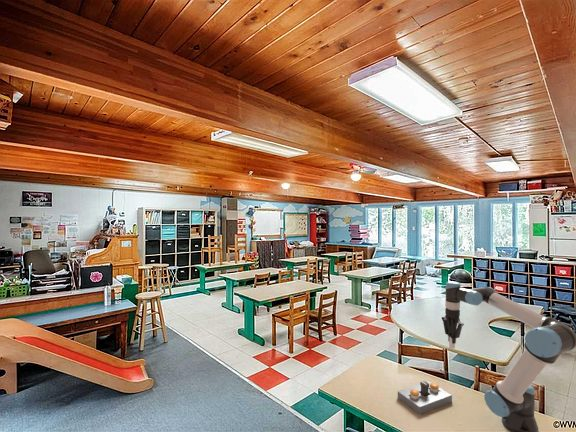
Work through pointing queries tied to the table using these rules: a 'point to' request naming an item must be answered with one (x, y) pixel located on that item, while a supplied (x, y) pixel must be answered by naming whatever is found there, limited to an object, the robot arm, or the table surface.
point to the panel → (424, 399)
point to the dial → (424, 388)
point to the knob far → (434, 387)
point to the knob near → (414, 394)
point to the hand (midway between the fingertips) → (451, 348)
